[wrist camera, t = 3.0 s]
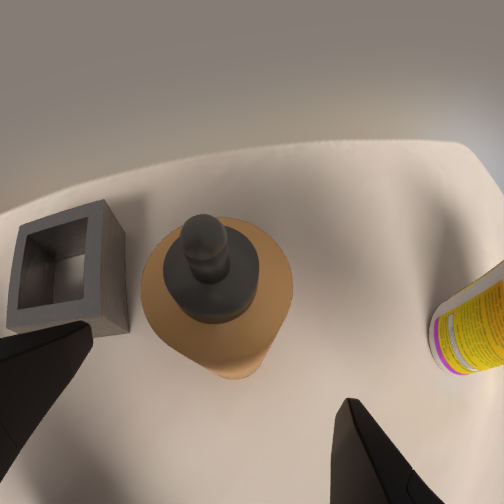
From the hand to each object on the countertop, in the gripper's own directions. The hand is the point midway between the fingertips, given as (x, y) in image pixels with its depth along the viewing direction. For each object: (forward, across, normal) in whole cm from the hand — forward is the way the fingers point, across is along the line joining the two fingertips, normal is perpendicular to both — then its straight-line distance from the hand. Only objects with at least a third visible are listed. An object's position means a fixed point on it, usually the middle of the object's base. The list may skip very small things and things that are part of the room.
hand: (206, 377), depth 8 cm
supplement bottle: (+11, -17, +3) cm, 21 cm away
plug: (+8, 0, +5) cm, 10 cm away
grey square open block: (+9, +13, +5) cm, 17 cm away
